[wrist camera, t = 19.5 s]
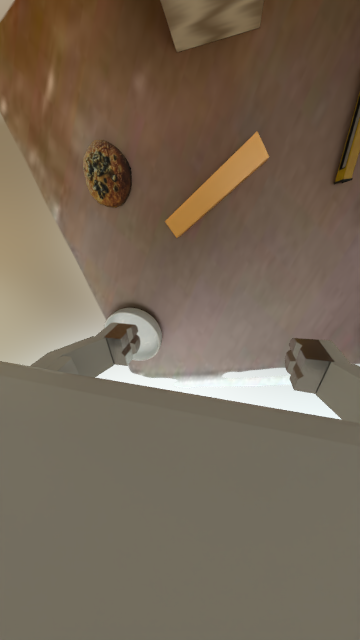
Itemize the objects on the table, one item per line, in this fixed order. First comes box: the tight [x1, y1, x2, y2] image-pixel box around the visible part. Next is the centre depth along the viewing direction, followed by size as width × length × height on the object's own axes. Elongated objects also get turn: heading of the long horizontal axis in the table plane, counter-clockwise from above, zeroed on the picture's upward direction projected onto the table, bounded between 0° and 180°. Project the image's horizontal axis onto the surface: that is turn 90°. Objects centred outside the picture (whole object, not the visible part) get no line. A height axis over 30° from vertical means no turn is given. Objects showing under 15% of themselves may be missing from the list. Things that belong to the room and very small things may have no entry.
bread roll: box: [83, 140, 131, 207], centre depth 37 cm, size 11×11×5 cm
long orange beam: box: [165, 132, 269, 238], centre depth 34 cm, size 4×20×3 cm, turn 128°
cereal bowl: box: [104, 308, 162, 361], centre depth 53 cm, size 17×17×7 cm
